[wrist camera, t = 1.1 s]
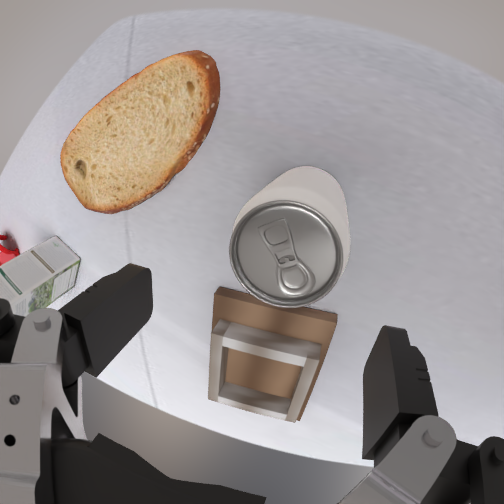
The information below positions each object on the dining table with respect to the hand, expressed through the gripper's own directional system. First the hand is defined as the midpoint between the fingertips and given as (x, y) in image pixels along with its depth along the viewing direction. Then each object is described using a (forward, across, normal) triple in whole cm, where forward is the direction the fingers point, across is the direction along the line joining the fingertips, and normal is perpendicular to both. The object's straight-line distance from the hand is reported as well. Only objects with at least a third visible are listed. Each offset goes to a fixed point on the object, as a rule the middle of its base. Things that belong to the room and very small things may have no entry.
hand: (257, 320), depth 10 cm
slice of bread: (+18, +18, -4) cm, 26 cm away
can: (+18, 0, 0) cm, 18 cm away
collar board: (+17, +1, +18) cm, 25 cm away
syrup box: (+18, +30, +13) cm, 37 cm away
